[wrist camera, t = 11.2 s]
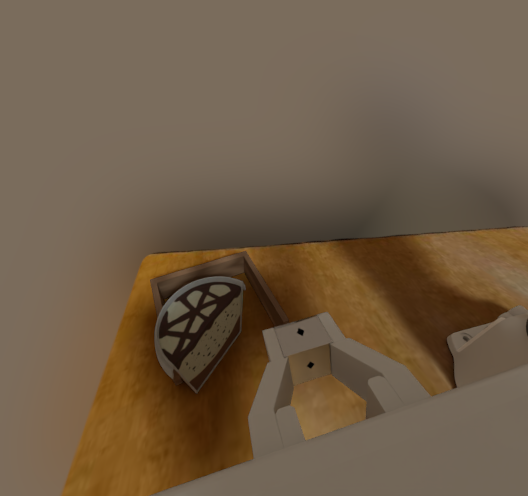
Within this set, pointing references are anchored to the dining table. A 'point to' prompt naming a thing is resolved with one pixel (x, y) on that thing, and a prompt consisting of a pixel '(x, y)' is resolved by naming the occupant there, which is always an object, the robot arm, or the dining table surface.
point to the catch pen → (220, 267)
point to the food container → (199, 328)
